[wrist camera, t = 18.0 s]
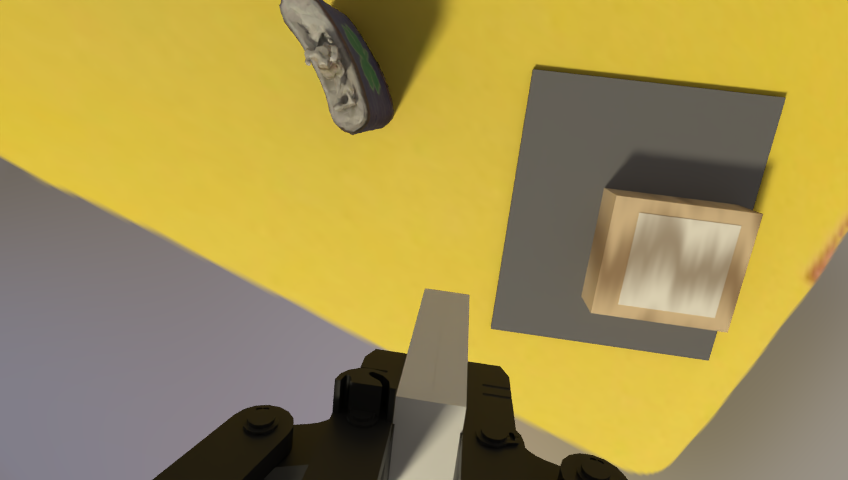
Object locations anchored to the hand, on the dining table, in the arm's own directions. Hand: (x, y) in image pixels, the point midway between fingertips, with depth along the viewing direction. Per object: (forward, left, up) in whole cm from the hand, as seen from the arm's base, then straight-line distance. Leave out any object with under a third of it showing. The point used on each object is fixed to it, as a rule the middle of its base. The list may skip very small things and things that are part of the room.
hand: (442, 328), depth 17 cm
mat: (0, +13, -24) cm, 28 cm away
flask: (-9, -9, -25) cm, 28 cm away
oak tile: (+2, +11, -22) cm, 25 cm away
